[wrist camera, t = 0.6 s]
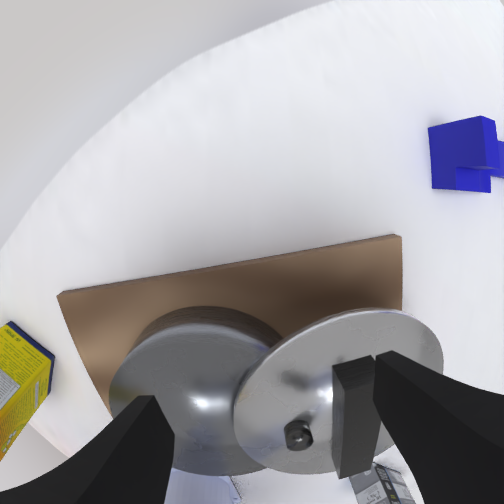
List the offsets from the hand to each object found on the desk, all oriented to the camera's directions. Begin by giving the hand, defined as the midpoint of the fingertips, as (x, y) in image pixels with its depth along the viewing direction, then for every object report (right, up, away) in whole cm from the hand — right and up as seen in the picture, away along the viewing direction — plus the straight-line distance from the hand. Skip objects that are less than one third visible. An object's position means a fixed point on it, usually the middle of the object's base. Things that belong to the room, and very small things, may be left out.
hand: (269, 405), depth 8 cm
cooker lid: (+5, -4, +6) cm, 8 cm away
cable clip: (+18, +12, +9) cm, 24 cm away
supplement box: (-21, -5, +11) cm, 25 cm away
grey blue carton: (+15, -24, +17) cm, 33 cm away
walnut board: (-1, -4, +11) cm, 12 cm away
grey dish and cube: (0, -4, +10) cm, 11 cm away
